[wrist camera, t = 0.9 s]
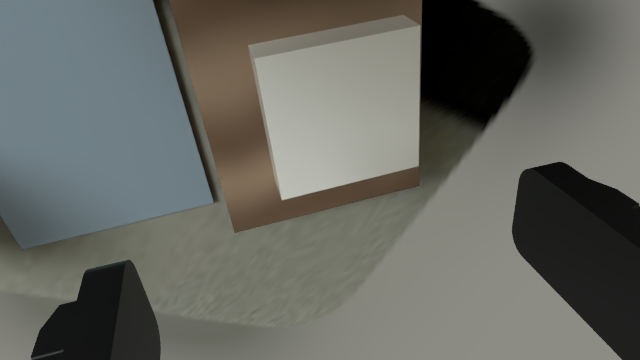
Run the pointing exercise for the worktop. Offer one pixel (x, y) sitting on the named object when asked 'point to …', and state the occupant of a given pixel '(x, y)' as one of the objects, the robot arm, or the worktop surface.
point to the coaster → (340, 103)
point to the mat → (90, 120)
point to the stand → (243, 103)
